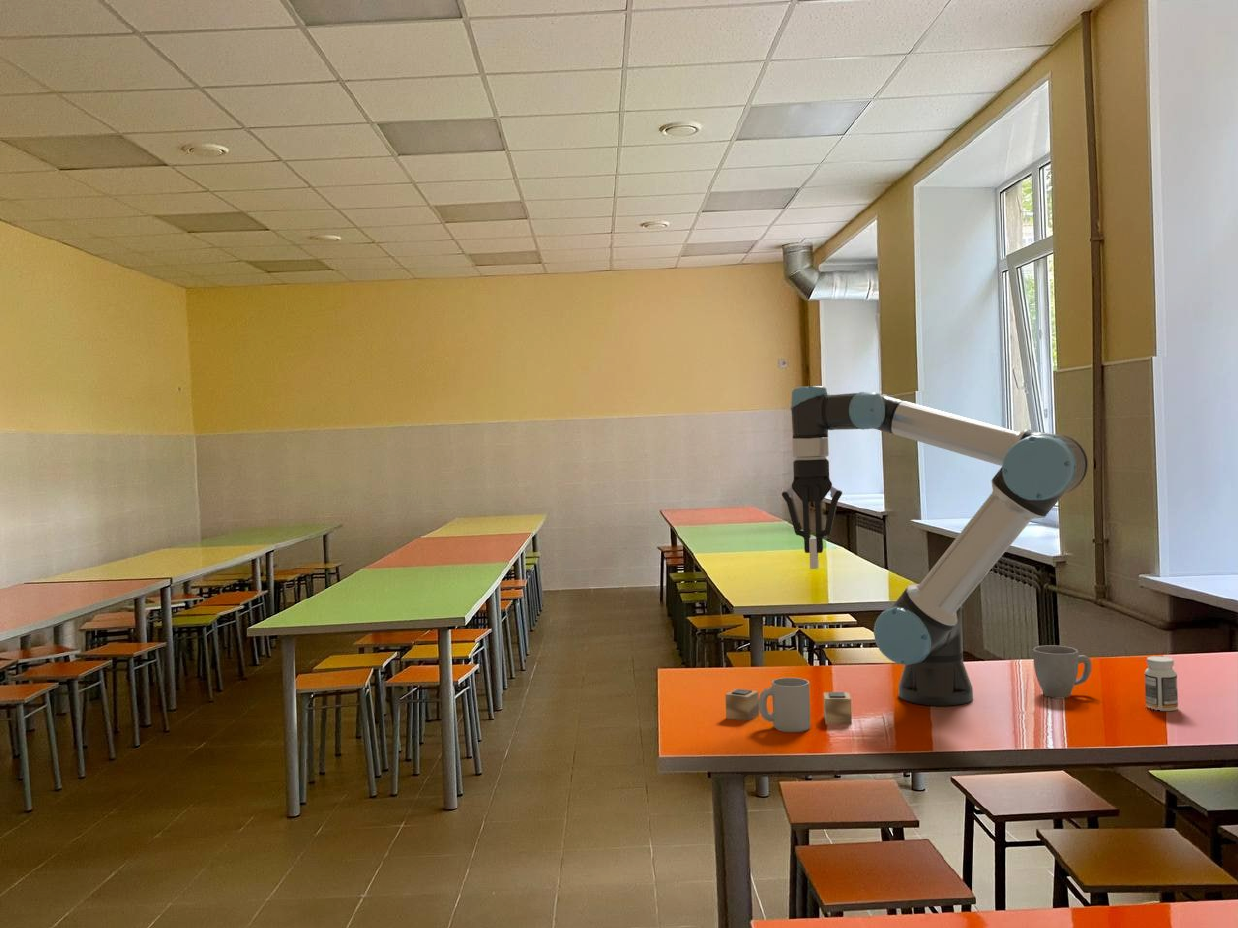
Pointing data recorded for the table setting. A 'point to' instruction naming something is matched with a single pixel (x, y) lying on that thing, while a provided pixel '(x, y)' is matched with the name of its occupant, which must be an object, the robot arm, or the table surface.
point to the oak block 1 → (742, 704)
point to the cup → (787, 704)
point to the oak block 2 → (837, 708)
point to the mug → (1059, 669)
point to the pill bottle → (1161, 684)
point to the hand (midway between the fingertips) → (814, 568)
